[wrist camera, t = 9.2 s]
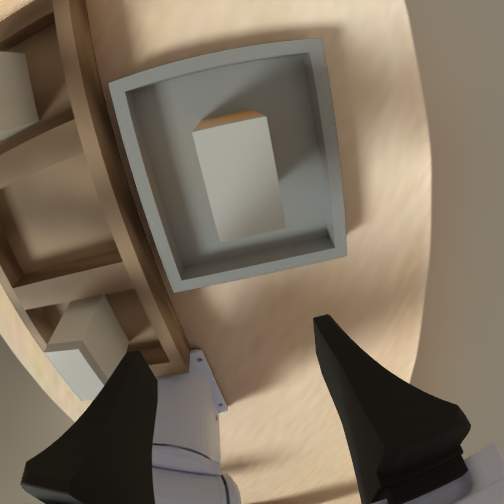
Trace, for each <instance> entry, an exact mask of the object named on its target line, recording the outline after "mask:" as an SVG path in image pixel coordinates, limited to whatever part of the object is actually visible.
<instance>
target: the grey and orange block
mask: <svg viewBox="0 0 504 504" xmlns="http://www.w3.org/2000/svg"><path fill="white" fill-rule="evenodd" d="M192 134H193V139H194V143H195V147H196V151H197V155H198V159H199V163H200V167H201V171H202V175H203V179H204V182H205V186H206V190H207V194H208V198H209V202H210V206H211V210H212V213H213V217H214V221H215V225H216V229H217V232H218V236H219V240H220V242H224V241H229V240H233V239H238V238H242V237H247V236H252V235H256V234H261V233H265V232H270V231H275V230H279V229H284V228H286V224H285V218H284V212H283V206H282V200H281V194H280V188H279V182H278V177H277V171H276V166H275V160H274V155H273V149H272V144H271V138H270V133H269V128H268V123H267V117H266V116H264V115H262V114H260V113H258V112H256V111H254V110H252V109H251V110H246V111H241V112H236V113H232V114H227V115H222V116H218V117H213V118H209V119H205V120H201V121H200V122H199V124H198V125H197V126H196V128H195V129H194V130H193V132H192Z"/></svg>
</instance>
